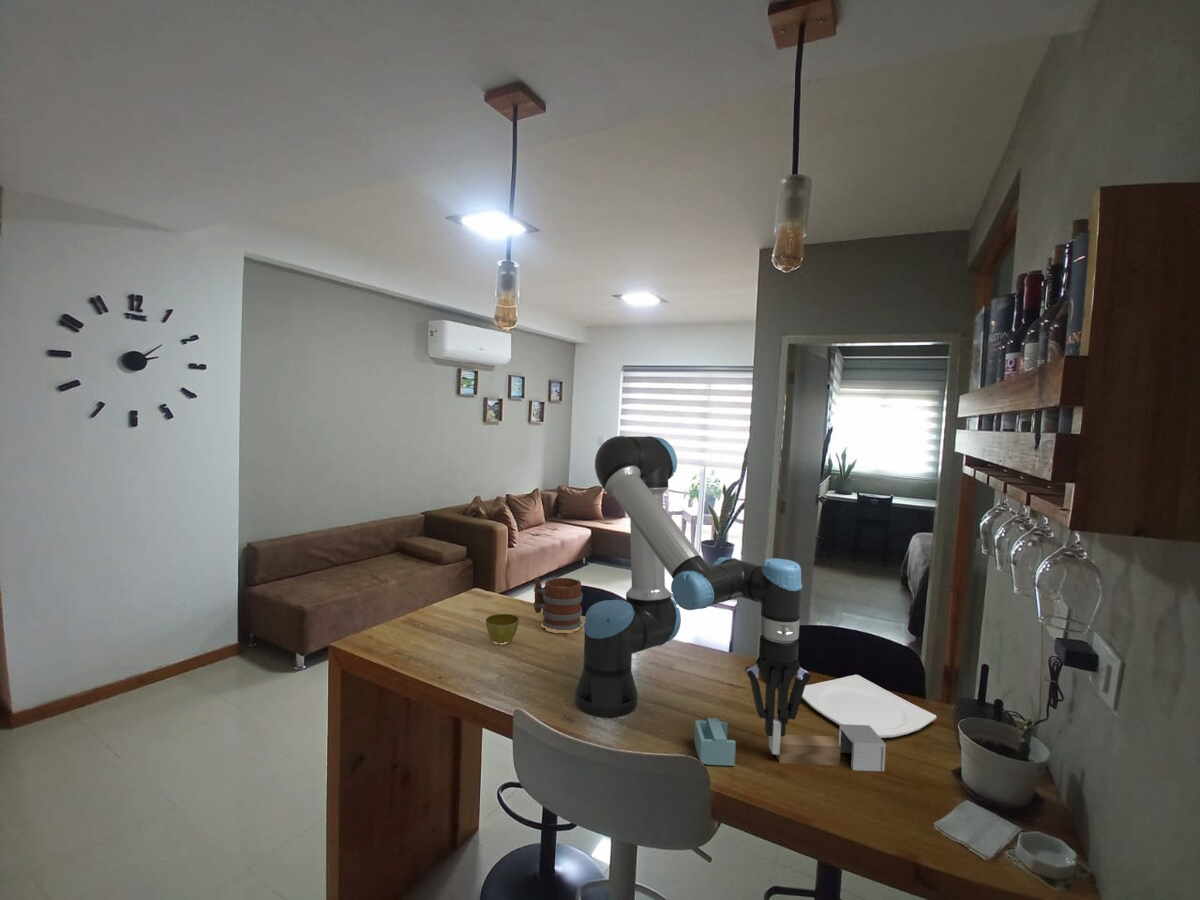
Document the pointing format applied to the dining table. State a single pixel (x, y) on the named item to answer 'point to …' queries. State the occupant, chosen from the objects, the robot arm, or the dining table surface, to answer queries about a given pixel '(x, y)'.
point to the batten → (809, 750)
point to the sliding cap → (714, 742)
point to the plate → (866, 706)
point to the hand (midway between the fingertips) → (774, 750)
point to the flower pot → (502, 627)
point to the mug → (559, 603)
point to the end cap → (862, 747)
